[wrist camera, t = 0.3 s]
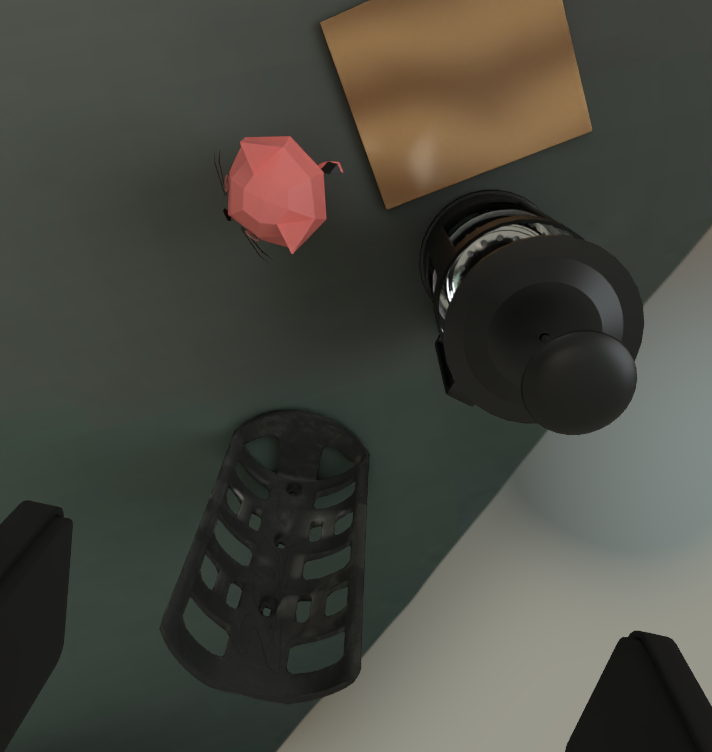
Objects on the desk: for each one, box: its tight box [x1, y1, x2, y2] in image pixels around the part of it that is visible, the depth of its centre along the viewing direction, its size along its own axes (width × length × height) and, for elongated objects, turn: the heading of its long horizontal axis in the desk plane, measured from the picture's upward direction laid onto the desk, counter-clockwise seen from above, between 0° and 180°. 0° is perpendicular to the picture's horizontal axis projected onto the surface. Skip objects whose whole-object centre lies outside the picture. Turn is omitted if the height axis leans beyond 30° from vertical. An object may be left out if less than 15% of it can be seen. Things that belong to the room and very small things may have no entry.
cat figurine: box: [214, 136, 343, 262], centre depth 37 cm, size 7×7×12 cm
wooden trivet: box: [320, 0, 592, 210], centre depth 40 cm, size 12×14×1 cm
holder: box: [160, 410, 370, 704], centre depth 42 cm, size 11×8×20 cm
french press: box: [420, 190, 644, 435], centre depth 34 cm, size 12×9×23 cm
